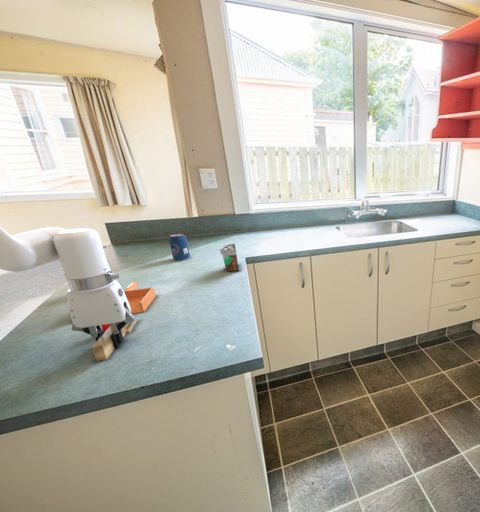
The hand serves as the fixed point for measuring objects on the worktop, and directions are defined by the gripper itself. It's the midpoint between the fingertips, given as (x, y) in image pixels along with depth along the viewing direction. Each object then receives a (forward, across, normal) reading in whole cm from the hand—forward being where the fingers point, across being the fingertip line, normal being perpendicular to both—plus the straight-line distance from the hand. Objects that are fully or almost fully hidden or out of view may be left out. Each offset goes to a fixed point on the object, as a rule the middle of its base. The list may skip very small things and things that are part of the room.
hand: (112, 346), depth 76 cm
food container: (0, -24, -52) cm, 57 cm away
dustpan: (0, +7, -30) cm, 31 cm away
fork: (0, 0, -3) cm, 3 cm away
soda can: (0, -1, -76) cm, 76 cm away
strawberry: (-2, +5, -8) cm, 9 cm away
